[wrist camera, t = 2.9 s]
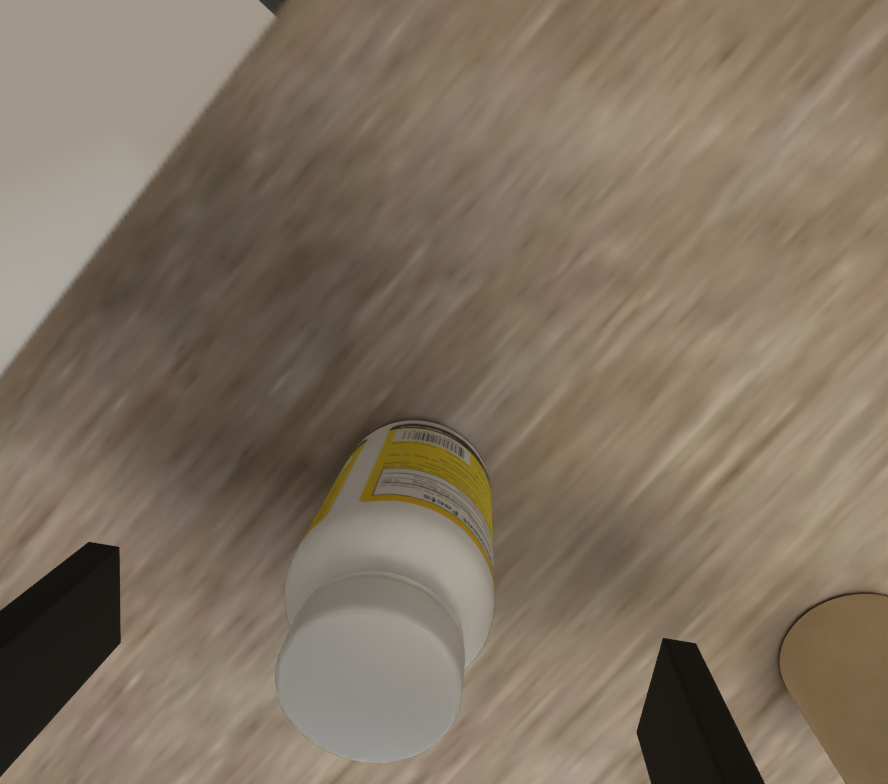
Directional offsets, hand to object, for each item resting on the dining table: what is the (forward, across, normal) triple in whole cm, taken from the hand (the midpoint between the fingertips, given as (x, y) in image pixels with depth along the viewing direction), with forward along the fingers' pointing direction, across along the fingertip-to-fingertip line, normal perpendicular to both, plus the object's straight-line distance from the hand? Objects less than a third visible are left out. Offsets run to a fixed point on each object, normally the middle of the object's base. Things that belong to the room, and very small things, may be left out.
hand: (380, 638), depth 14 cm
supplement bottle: (+8, 0, 0) cm, 8 cm away
